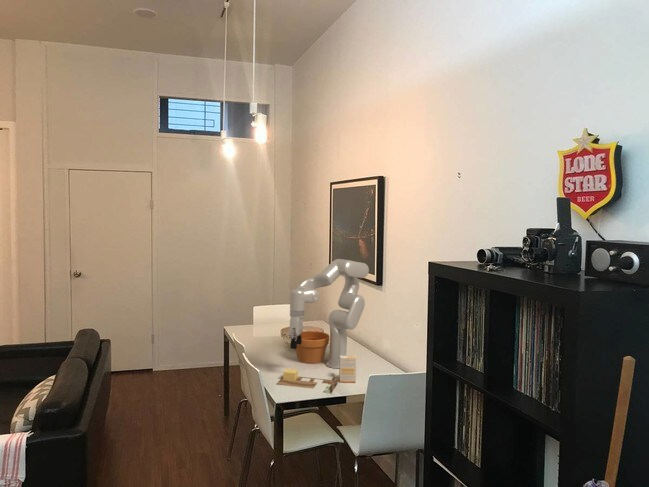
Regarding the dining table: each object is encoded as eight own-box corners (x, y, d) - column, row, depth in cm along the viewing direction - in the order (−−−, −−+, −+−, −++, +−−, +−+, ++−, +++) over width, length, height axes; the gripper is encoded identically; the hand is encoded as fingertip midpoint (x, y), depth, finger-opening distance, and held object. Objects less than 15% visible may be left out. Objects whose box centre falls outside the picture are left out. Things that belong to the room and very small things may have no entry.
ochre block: (286, 376, 262) (286, 368, 262) (297, 377, 261) (298, 369, 261) (283, 379, 256) (283, 371, 256) (294, 381, 255) (294, 373, 255)
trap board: (284, 377, 264) (284, 371, 264) (337, 383, 258) (337, 376, 258) (275, 387, 249) (275, 380, 249) (331, 393, 243) (331, 386, 243)
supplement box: (354, 379, 264) (355, 355, 264) (355, 383, 260) (356, 357, 259) (338, 379, 264) (339, 354, 263) (339, 382, 259) (340, 357, 259)
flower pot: (324, 367, 285) (325, 341, 284) (288, 363, 289) (288, 338, 288) (331, 356, 305) (332, 332, 304) (297, 353, 309) (298, 329, 309)
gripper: (294, 309, 274) (293, 341, 275) (285, 315, 257) (284, 349, 258) (308, 310, 272) (307, 342, 274) (299, 317, 255) (298, 351, 257)
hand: (296, 346), depth 266 cm, fingers open, 8 cm apart
